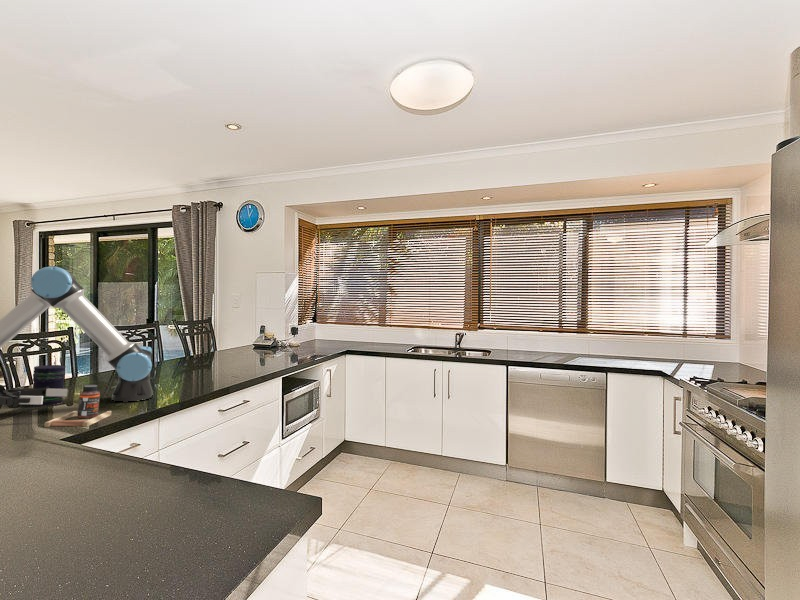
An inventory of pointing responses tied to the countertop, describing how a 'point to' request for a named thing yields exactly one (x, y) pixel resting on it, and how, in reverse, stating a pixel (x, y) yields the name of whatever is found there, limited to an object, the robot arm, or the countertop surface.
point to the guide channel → (63, 422)
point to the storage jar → (49, 381)
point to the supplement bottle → (89, 402)
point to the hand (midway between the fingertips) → (55, 396)
